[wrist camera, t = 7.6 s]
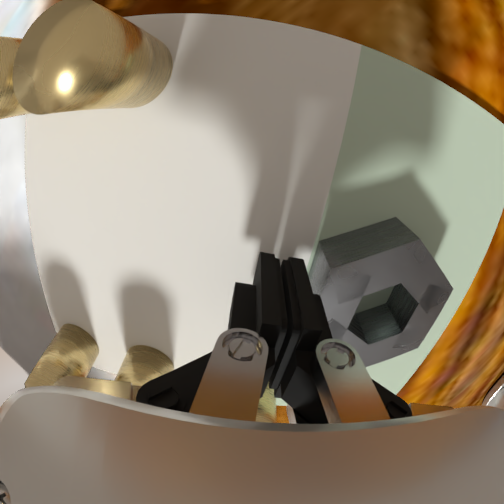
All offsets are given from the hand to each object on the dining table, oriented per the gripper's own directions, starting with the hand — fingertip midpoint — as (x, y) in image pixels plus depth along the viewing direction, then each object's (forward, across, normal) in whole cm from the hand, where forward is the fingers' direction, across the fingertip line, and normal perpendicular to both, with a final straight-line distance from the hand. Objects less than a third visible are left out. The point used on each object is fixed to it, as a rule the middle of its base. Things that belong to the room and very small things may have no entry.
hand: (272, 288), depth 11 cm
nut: (+1, -5, 0) cm, 5 cm away
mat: (+2, +1, 0) cm, 2 cm away
